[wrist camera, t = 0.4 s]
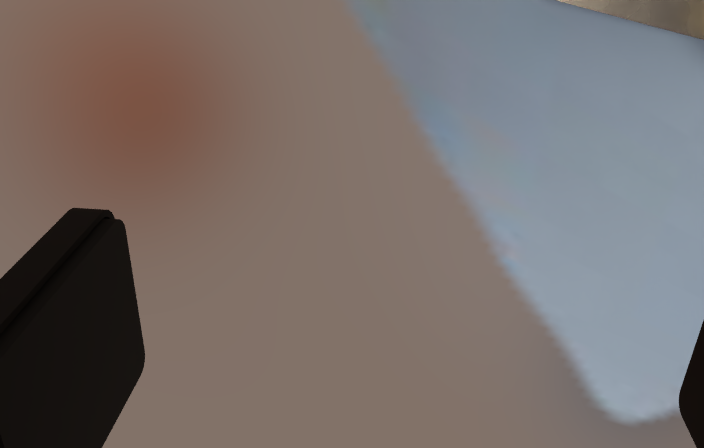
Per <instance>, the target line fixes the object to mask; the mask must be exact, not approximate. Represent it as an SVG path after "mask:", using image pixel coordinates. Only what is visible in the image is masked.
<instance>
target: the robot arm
mask: <svg viewBox="0 0 704 448" xmlns="http://www.w3.org/2000/svg"><path fill="white" fill-rule="evenodd" d="M144 362H145V351H144V344H143V337H142V331H141V325H140V318H139V312H138V306H137V299H136V293H135V287H134V280H133V274H132V267H131V261H130V255H129V248H128V242H127V235H126V229H125V225H124V223H123V221H121V220H119V219H115V218H114V216H113V214H112V212H110V211H109V210H100V209H83V208H72V209H70V210H69V211H68V212H67V213H66V214H65V215H64V216H63V217H62V218H61V219H60V220H59V221H58V222H57V223H56V224H55V225H54V226H53V227H52V228H51V229H50V230H49V231H48V232H47V233H46V234H45V235H44V236H43V237H42V238H41V239H40V240H39V241H38V242H37V243H36V244H35V245H34V246H33V247H32V248H31V249H30V250H29V251H28V252H27V253H26V254H25V255H24V256H23V257H22V258H21V259H20V260H19V261H18V262H17V263H16V264H15V265H14V266H13V267H12V268H11V269H10V270H9V271H8V272H7V273H6V274H5V275H4V276H3V277H2V278H1V279H0V448H102V446H103V444H104V442H105V441H106V439H107V437H108V435H109V433H110V432H111V430H112V428H113V426H114V424H115V422H116V420H117V418H118V417H119V415H120V413H121V411H122V409H123V407H124V405H125V404H126V401H127V400H128V398H129V396H130V394H131V392H132V391H133V389H134V387H135V385H136V383H137V381H138V379H139V377H140V376H141V373H142V371H143V367H144ZM679 408H680V412H681V415H682V418H683V420H684V422H685V424H686V426H687V428H688V430H689V432H690V435H691V437H692V438H693V441H694V442H695V445H696V447H697V448H704V321H703V324H702V327H701V330H700V333H699V336H698V339H697V342H696V345H695V348H694V351H693V354H692V357H691V360H690V363H689V366H688V369H687V372H686V375H685V378H684V381H683V384H682V387H681V390H680V394H679Z"/></svg>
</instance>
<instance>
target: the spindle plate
mask: <svg viewBox="0 0 704 448" xmlns="http://www.w3.org/2000/svg"><path fill="white" fill-rule="evenodd" d="M557 1H561V2H564V3H568V4H572V5H575V6H579V7H583V8H587V9H590V10H594V11H598V12H602V13H605V14H609V15H613V16H617V17H620V18H624V19H628V20H632V21H635V22H639V23H643V24H647V25H650V26H654V27H658V28H662V29H665V30H669V31H673V32H677V33H680V34H684V35H688V36H692V37H695V38H699V39H703V40H704V0H557Z"/></svg>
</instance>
